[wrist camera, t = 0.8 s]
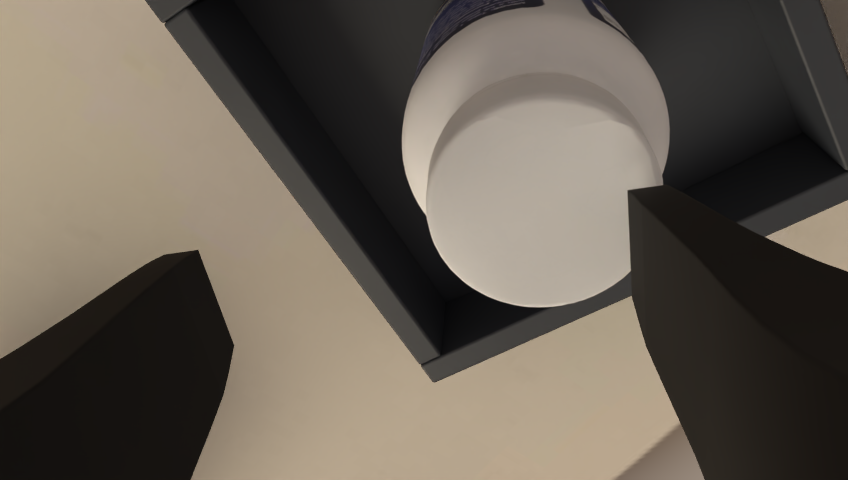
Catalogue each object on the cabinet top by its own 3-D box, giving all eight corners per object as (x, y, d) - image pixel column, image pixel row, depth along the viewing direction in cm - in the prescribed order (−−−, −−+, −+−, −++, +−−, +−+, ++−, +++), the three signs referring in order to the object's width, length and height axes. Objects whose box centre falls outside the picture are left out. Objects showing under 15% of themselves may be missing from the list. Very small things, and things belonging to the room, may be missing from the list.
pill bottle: (409, 131, 22) (360, 312, 13) (442, -58, 19) (407, 17, 11) (585, 165, 22) (649, 366, 13) (640, -19, 19) (764, 85, 11)
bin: (833, 138, 21) (888, 183, 18) (439, 323, 25) (433, 384, 23) (640, -357, 16) (674, -401, 13) (188, -25, 20) (140, -5, 18)
